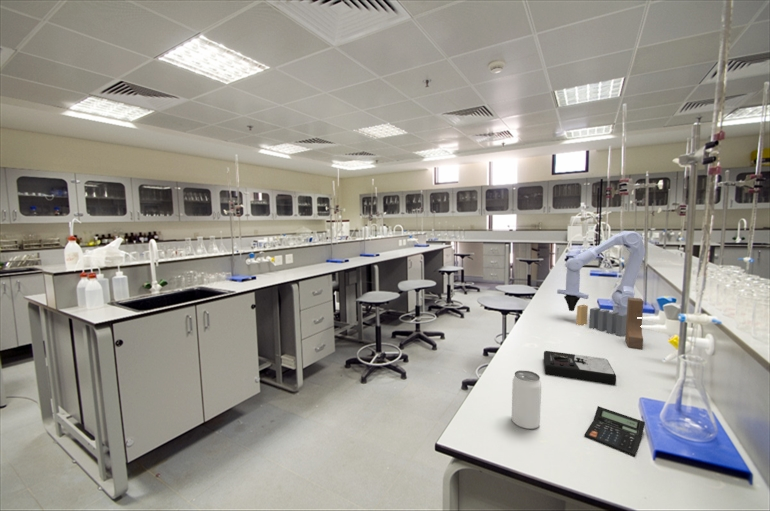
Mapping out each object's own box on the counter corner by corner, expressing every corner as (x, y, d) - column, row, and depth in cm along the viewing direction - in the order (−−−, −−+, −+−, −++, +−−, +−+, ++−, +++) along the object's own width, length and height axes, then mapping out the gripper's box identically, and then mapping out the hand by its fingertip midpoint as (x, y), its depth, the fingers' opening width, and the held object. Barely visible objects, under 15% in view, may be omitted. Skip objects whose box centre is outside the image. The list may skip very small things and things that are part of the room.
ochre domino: (582, 322, 158) (583, 304, 158) (586, 324, 157) (587, 305, 156) (576, 324, 156) (577, 305, 155) (580, 325, 154) (581, 306, 154)
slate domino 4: (622, 333, 143) (623, 313, 142) (627, 334, 141) (628, 314, 140) (615, 335, 141) (617, 314, 140) (621, 336, 139) (622, 315, 138)
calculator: (584, 437, 75) (584, 425, 75) (597, 416, 83) (598, 405, 83) (634, 458, 69) (635, 444, 68) (644, 433, 77) (644, 421, 76)
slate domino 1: (595, 326, 153) (596, 307, 152) (599, 327, 151) (600, 308, 151) (589, 327, 151) (590, 308, 150) (593, 329, 149) (594, 309, 148)
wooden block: (642, 349, 125) (645, 303, 123) (628, 347, 127) (631, 302, 125) (638, 342, 133) (641, 298, 131) (625, 340, 135) (627, 297, 133)
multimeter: (543, 360, 118) (543, 346, 117) (606, 368, 110) (607, 354, 110) (545, 375, 106) (545, 360, 105) (616, 387, 98) (617, 371, 98)
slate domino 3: (612, 330, 146) (613, 311, 146) (617, 332, 145) (618, 312, 144) (606, 332, 144) (607, 312, 143) (611, 334, 143) (612, 313, 142)
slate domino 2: (603, 328, 150) (604, 309, 149) (608, 329, 148) (609, 310, 147) (597, 330, 148) (598, 310, 147) (602, 331, 146) (603, 311, 145)
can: (516, 411, 86) (517, 367, 84) (543, 420, 81) (544, 374, 80) (507, 423, 81) (509, 376, 79) (535, 433, 76) (537, 384, 75)
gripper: (553, 281, 164) (552, 308, 165) (582, 286, 151) (581, 315, 152) (562, 280, 167) (561, 306, 168) (591, 284, 154) (590, 313, 156)
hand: (571, 310), depth 161 cm, fingers closed
